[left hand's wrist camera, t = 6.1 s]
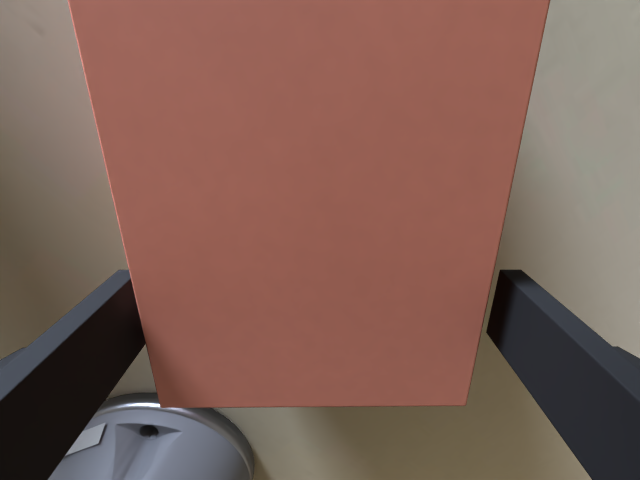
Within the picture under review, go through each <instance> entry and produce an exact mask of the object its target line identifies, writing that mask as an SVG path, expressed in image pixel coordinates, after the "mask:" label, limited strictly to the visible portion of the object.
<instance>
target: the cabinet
mask: <svg viewBox="0 0 640 480" xmlns="http://www.w3.org/2000/svg"><path fill="white" fill-rule="evenodd" d="M68 4H69V8H70V12H71V17H72V21H73V26H74V30H75V34H76V39H77V43H78V48H79V52H80V56H81V61H82V65H83V69H84V74H85V78H86V83H87V87H88V91H89V96H90V100H91V105H92V109H93V113H94V118H95V122H96V127H97V131H98V135H99V140H100V144H101V149H102V153H103V157H104V162H105V166H106V170H107V175H108V179H109V184H110V188H111V192H112V197H113V201H114V206H115V210H116V214H117V219H118V223H119V228H120V232H121V236H122V241H123V245H124V249H125V254H126V258H127V263H128V267H129V271H130V276H131V280H132V285H133V289H134V293H135V298H136V302H137V307H138V311H139V315H140V320H141V324H142V329H143V333H144V337H145V342H146V346H147V350H148V355H149V359H150V364H151V368H152V372H153V377H154V381H155V386H156V390H157V394H158V399H159V403H160V407H161V408H217V407H357V406H465V405H466V403H467V398H468V393H469V389H470V384H471V379H472V374H473V369H474V364H475V360H476V355H477V350H478V345H479V340H480V336H481V331H482V326H483V321H484V316H485V312H486V307H487V302H488V297H489V292H490V287H491V283H492V278H493V273H494V268H495V263H496V259H497V254H498V249H499V244H500V239H501V235H502V230H503V225H504V220H505V215H506V210H507V206H508V201H509V196H510V191H511V186H512V182H513V177H514V172H515V167H516V162H517V158H518V153H519V148H520V143H521V138H522V133H523V129H524V124H525V119H526V114H527V109H528V105H529V100H530V95H531V90H532V85H533V81H534V76H535V71H536V66H537V61H538V56H539V52H540V47H541V42H542V37H543V32H544V28H545V23H546V18H547V13H548V8H549V4H550V0H68Z"/></svg>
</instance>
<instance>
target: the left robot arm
mask: <svg viewBox="0 0 640 480" xmlns="http://www.w3.org/2000/svg"><path fill="white" fill-rule="evenodd" d="M486 333H487V334H488V335H489V337H490V338H491V340H492V341H493V342H494V344H495V345H496V347H497V348H498V349H499V351H500V352H501V353H502V355H503V356H504V358H505V359H506V360H507V362H508V363H509V365H510V366H511V367H512V369H513V370H514V372H515V373H516V374H517V376H518V377H519V378H520V380H521V381H522V383H523V384H524V385H525V387H526V388H527V390H528V391H529V392H530V394H531V395H532V397H533V398H534V399H535V401H536V402H537V404H538V405H539V406H540V408H541V409H542V410H543V412H544V413H545V415H546V416H547V417H548V419H549V420H550V422H551V423H552V424H553V426H554V427H555V429H556V430H557V431H558V433H559V434H560V436H561V437H562V438H563V440H564V441H565V442H566V444H567V445H568V447H569V448H570V449H571V451H572V452H573V454H574V455H575V456H576V458H577V459H578V461H579V462H580V463H581V465H582V466H583V468H584V469H585V470H586V472H587V473H588V474H589V476H590V477H591V479H592V480H640V359H639V358H638V357H636V356H634V355H632V354H630V353H629V352H627V351H625V350H623V349H621V348H619V347H612V346H611V345H610V344H609V343H608V342H606V341H605V340H604V339H603V338H602V337H600V336H599V335H598V334H597V333H596V332H594V331H593V330H592V329H591V328H590V327H588V326H587V325H586V324H585V323H584V322H583V321H581V320H580V319H579V318H578V317H577V316H575V315H574V314H573V313H572V312H571V311H569V310H568V309H567V308H566V307H565V306H563V305H562V304H561V303H560V302H559V301H558V300H556V299H555V298H554V297H553V296H552V295H550V294H549V293H548V292H547V291H546V290H544V289H543V288H542V287H541V286H540V285H538V284H537V283H536V282H535V281H534V280H533V279H531V278H530V277H529V276H528V275H527V274H525V273H524V272H523V271H522V270H500V272H499V277H498V281H497V286H496V290H495V295H494V299H493V304H492V309H491V313H490V318H489V322H488V327H487V332H486ZM145 344H146V342H145V337H144V333H143V329H142V324H141V320H140V315H139V311H138V307H137V302H136V298H135V293H134V289H133V285H132V280H131V276H130V271H129V270H118V271H117V272H116V273H115V274H113V275H112V276H111V277H110V278H109V279H107V280H106V281H105V282H104V283H103V284H102V285H100V286H99V287H98V288H97V289H96V290H94V291H93V292H92V293H91V294H90V295H88V296H87V297H86V298H85V299H84V300H82V301H81V302H80V303H79V304H78V305H77V306H75V307H74V308H73V309H72V310H71V311H69V312H68V313H67V314H66V315H65V316H63V317H62V318H61V319H60V320H59V321H57V322H56V323H55V324H54V325H53V326H52V327H50V328H49V329H48V330H47V331H46V332H44V333H43V334H42V335H41V336H40V337H38V338H37V339H36V340H35V341H34V342H32V343H31V344H30V345H29V346H28V347H27V348H21V349H20V350H18V351H16V352H14V353H12V354H10V355H9V356H7V357H5V358H3V359H1V360H0V480H253V474H254V457H253V453H252V450H251V447H250V445H249V443H248V441H247V440H246V438H245V437H244V435H243V434H242V433H241V431H240V430H239V429H238V428H237V427H236V426H235V425H234V424H233V423H232V422H231V421H230V420H228V419H227V418H226V417H224V416H223V415H221V414H220V413H219V412H217V411H215V410H213V409H212V408H161V407H160V403H159V399H158V394H157V393H135V394H128V395H122V396H118V397H115V398H112V399H109V400H106V401H105V399H106V398H107V397H108V395H109V394H110V392H111V391H112V390H113V388H114V387H115V385H116V384H117V383H118V381H119V380H120V378H121V377H122V376H123V374H124V373H125V372H126V370H127V369H128V367H129V366H130V365H131V363H132V362H133V360H134V359H135V358H136V356H137V355H138V353H139V352H140V351H141V349H142V348H143V347H144V345H145Z"/></svg>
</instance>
